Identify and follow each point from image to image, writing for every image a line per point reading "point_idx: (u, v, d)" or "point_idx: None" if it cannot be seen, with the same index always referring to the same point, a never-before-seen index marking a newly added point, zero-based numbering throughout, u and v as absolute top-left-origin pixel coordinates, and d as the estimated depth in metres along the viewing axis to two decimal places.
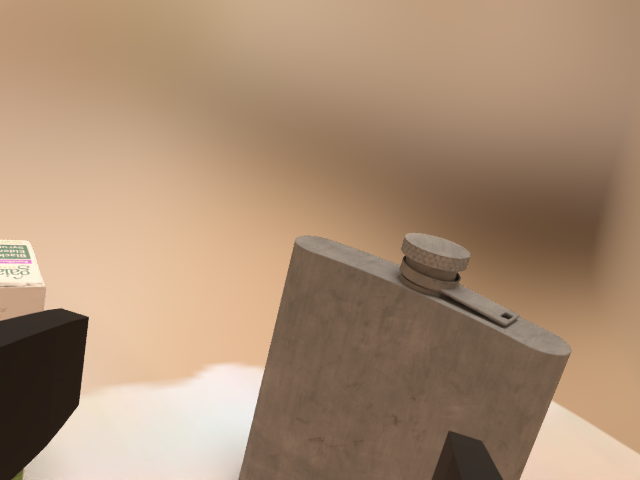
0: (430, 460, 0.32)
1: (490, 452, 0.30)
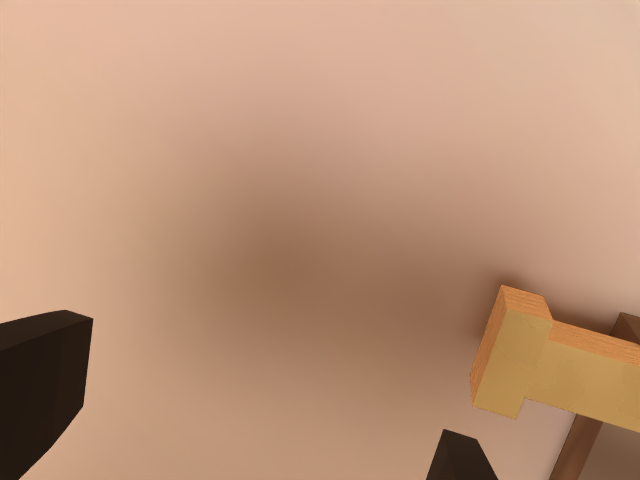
0: None
1: None
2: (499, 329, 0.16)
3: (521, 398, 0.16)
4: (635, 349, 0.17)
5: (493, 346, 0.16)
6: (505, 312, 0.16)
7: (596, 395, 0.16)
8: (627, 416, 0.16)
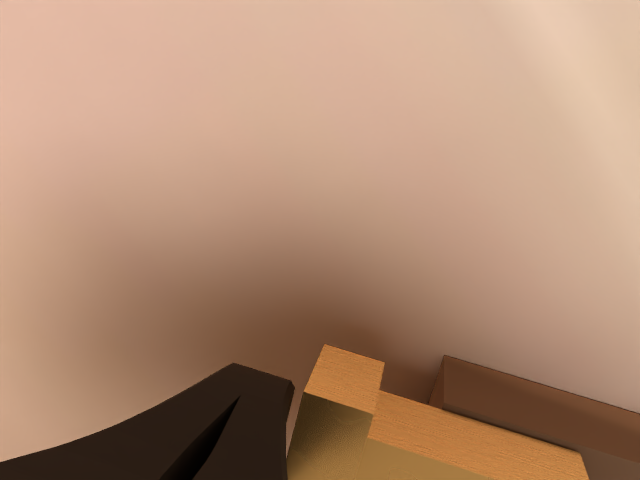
0: None
1: None
2: (296, 422, 0.10)
3: None
4: (514, 447, 0.11)
5: (290, 447, 0.10)
6: (302, 397, 0.10)
7: None
8: None
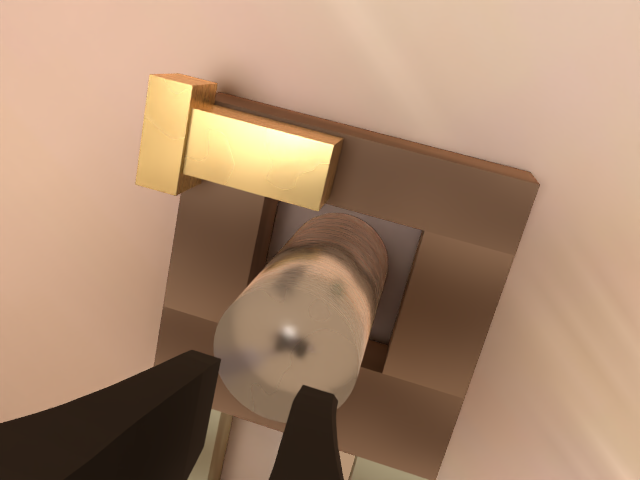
0: None
1: None
2: (148, 99, 0.16)
3: (177, 172, 0.16)
4: (296, 128, 0.17)
5: (144, 117, 0.16)
6: (150, 79, 0.16)
7: (246, 166, 0.16)
8: (276, 186, 0.16)
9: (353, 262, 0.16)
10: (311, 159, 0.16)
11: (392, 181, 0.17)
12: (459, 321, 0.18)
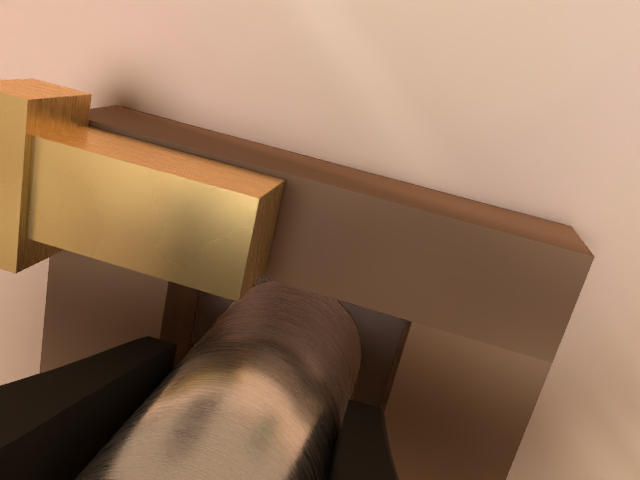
0: None
1: None
2: None
3: (16, 237, 0.10)
4: (208, 166, 0.11)
5: None
6: None
7: (123, 228, 0.10)
8: (172, 262, 0.10)
9: (296, 382, 0.10)
10: (223, 220, 0.10)
11: (361, 246, 0.11)
12: (466, 455, 0.12)
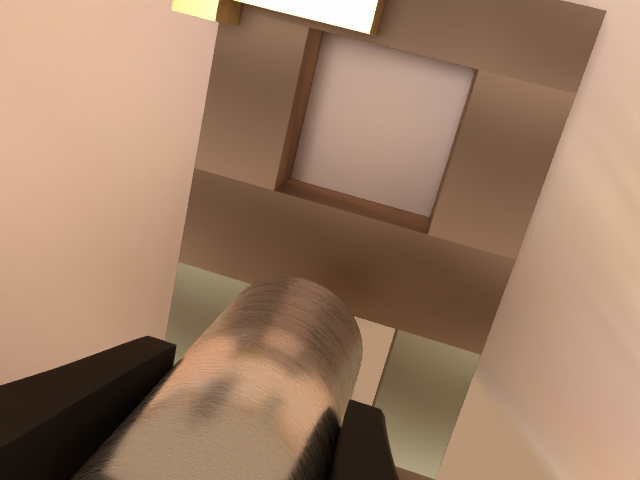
0: None
1: None
2: None
3: None
4: None
5: None
6: None
7: None
8: (325, 7, 0.15)
9: (297, 377, 0.10)
10: None
11: (445, 13, 0.16)
12: (513, 172, 0.17)
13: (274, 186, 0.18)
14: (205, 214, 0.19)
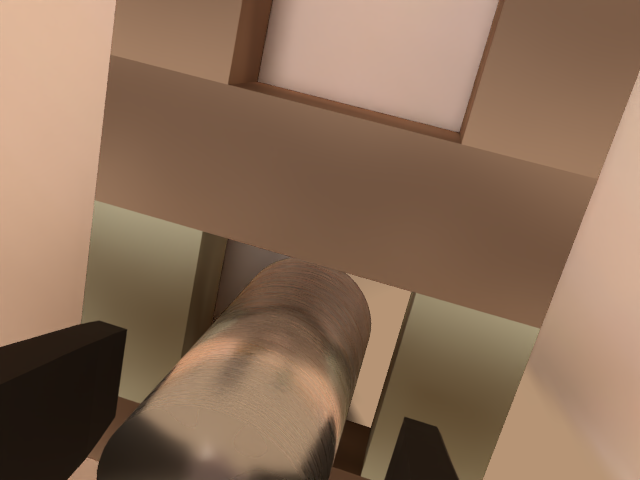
0: None
1: None
2: None
3: None
4: None
5: None
6: None
7: None
8: None
9: (316, 339, 0.11)
10: None
11: None
12: (598, 36, 0.11)
13: (228, 78, 0.12)
14: (129, 126, 0.13)
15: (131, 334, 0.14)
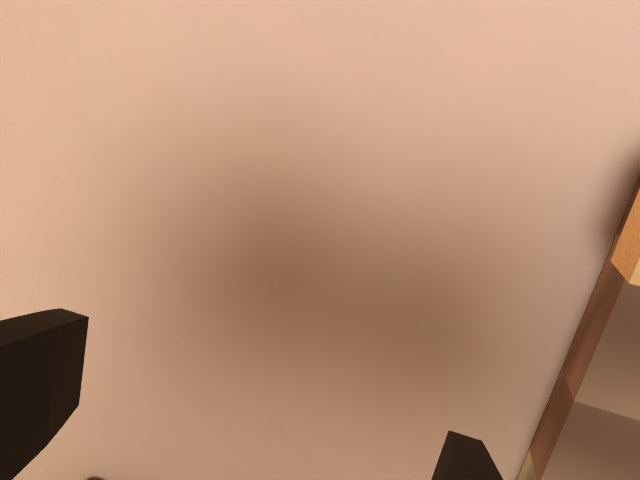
0: None
1: None
2: None
3: None
4: None
5: None
6: None
7: None
8: None
9: None
10: None
11: None
12: None
13: None
14: (578, 444, 0.18)
15: None
